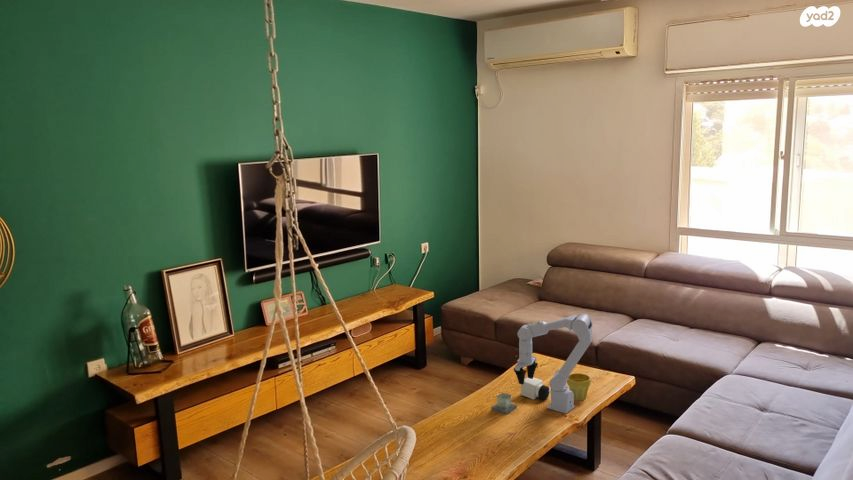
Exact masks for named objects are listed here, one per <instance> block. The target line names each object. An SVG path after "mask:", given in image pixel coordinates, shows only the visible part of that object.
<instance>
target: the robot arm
mask: <svg viewBox="0 0 853 480" xmlns="http://www.w3.org/2000/svg"><path fill="white" fill-rule="evenodd" d="M591 319H592V318H591V317H590V315H588V314H587V313H579V314H573V315H570V316H566V317H563V318H560V319H559V318H558V319H556V320H553V321H549V322H546V320H545V321H544V320H542V321H541V320H537V321H536V322H535V323H528V324H523V325H522V326H521V327H520V328H519V329H518V331H517V337H518V338H519V339H518V340H519V342H518V346H519V347H518V349H519V350H518V351H519V352H518V353H519V355H518V357H519V358H518V359H517V361H516V362H517V363H516V365H515V366H514V367H513V372H514V373H515V375H516V378H517V381H518V384H520V385H521V384H522V385H523V384H524V379H526V378H525V376H526V374H527V377H528V378H530V379H533V377H534V375H535V371H536V370H537V367H538V365H539V363H538V362H537V357H536V356H533V338H537V337H541V336H543V335H545V336H546V335H547V334H548V333H549V331H552V330H553V331H554V330H557V329H563V328H566V329H568V330H569V331H573V333H574V334H575V335H576V336H577V338H578V342H577V343H576V345H575V346H574V348H573V349H572V351H571V352H570V354H569V356H568V357H567V358H566V360H565V361H564V363H563V364H562V366H561V368H560V369H558V370H557V371H555V373H554V374H553V377H552V378H551V379H550V381H549V388H550V404H549V405H548V406H547V409H549V410H553V411H556V412H560V413H562V414H567V413H569V412H570V411H572V410H573V409H574V408H575V406H576V405H575V400H574V393H573V392H572V391H570V389H569V386H568V384H567V381H568V378H569V375H570V374H572V371H573V370H574V368H575V367H576V366H577V364H578V363H579V361H580V359H581V358H582V357H583V355H584V354H585V352H587V349H588V348H589V347H590V345H591V343H592V342H593V321H592V320H591ZM525 367H526V370H525V369H524V368H525Z"/></svg>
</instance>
